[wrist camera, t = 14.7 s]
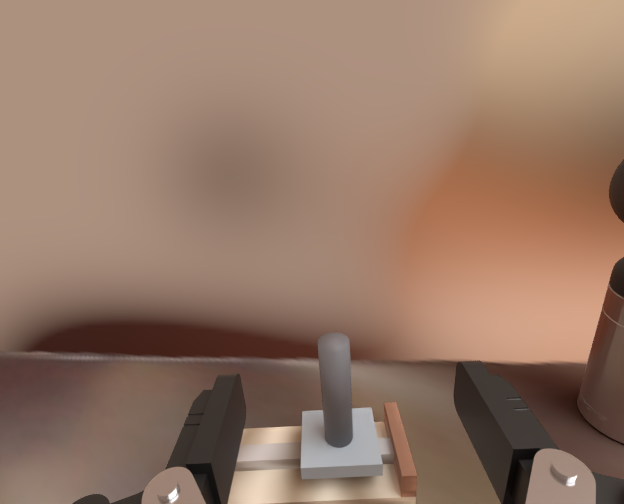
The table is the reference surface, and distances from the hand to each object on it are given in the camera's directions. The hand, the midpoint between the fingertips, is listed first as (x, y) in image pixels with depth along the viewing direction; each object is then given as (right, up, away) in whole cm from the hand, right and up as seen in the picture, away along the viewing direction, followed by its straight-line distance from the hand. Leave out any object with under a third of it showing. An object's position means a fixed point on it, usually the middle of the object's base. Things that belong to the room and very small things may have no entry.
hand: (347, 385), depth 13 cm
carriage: (+2, -17, +25) cm, 31 cm away
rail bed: (-2, -20, +26) cm, 33 cm away
